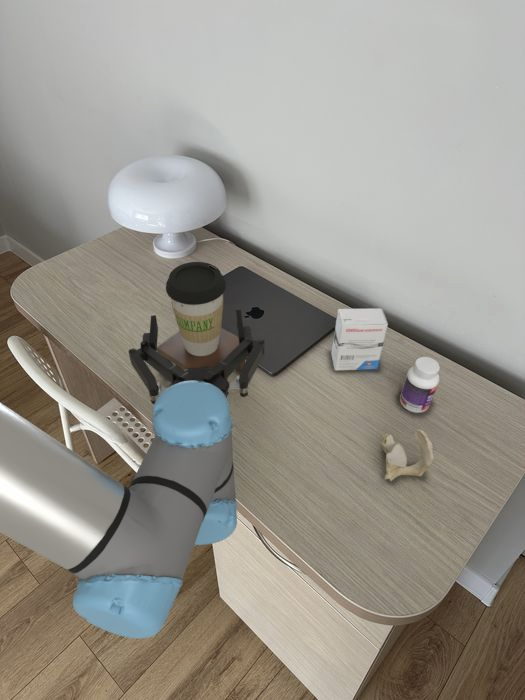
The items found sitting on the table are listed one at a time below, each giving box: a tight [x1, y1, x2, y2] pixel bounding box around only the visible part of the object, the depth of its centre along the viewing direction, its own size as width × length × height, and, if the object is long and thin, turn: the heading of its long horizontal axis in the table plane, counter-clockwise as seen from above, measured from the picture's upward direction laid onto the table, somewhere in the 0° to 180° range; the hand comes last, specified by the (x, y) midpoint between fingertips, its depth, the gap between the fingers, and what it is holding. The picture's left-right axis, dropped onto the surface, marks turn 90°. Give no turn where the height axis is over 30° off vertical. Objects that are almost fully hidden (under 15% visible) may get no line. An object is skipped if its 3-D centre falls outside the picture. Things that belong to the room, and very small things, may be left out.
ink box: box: [331, 308, 389, 371], centre depth 92 cm, size 8×5×12 cm, turn 93°
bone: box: [380, 428, 435, 482], centre depth 76 cm, size 9×6×10 cm
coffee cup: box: [165, 261, 227, 356], centre depth 84 cm, size 10×10×15 cm
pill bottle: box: [399, 356, 440, 414], centre depth 86 cm, size 5×5×10 cm
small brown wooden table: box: [157, 327, 246, 373], centre depth 92 cm, size 12×12×7 cm
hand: (196, 318), depth 79 cm, fingers open, 13 cm apart
